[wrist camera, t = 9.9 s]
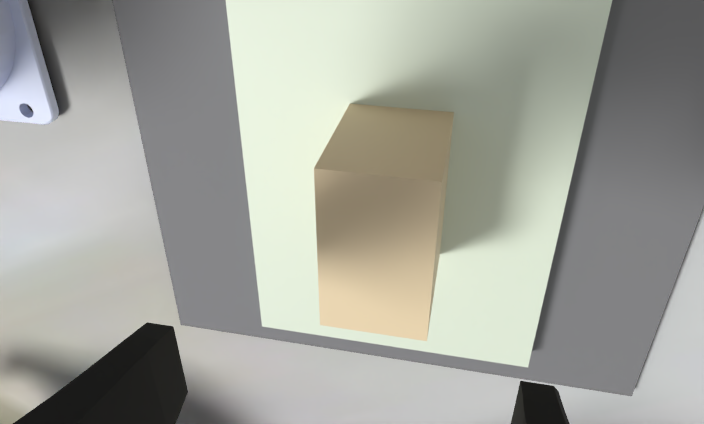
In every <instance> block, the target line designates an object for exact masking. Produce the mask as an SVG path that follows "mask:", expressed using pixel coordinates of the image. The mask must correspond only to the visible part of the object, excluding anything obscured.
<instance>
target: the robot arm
mask: <svg viewBox="0 0 704 424" xmlns="http://www.w3.org/2000/svg"><path fill="white" fill-rule="evenodd" d="M27 104H28V105H29V106H30V107H31V108H32V110H33V112H32V111H31V110H30V109H29V108H28V106H27ZM58 115H59V109H58V106H57V102H56V99H55V95H54V92H53V88H52V85H51V81H50V78H49V74H48V71H47V67H46V64H45V60H44V57H43V53H42V50H41V46H40V43H39V39H38V36H37V32H36V29H35V25H34V22H33V18H32V15H31V11H30V8H29V4H28V1H27V0H0V120H3V121H13V122H23V123H33V124H43V125H45V124H50V123H51V122H53V121H54V120H56V119H57V118H58ZM187 393H188V391H187V386H186V382H185V377H184V373H183V368H182V364H181V359H180V355H179V350H178V346H177V341H176V337H175V332H174V328H173V327H172V326H166V325H159V324H153V323H146V324H145V325H143V326H142V327H141V328H139V329H138V330H137V331H135V332H134V333H133V334H132V335H130V336H129V337H128V338H127V339H125V340H124V341H123V342H121V343H120V344H119V345H118V346H116V347H115V348H114V349H113V350H111V351H110V352H109V353H107V354H106V355H105V356H104V357H102V358H101V359H100V360H99V361H97V362H96V363H95V364H93V365H92V366H91V367H90V368H88V369H87V370H86V371H84V372H83V373H82V374H81V375H79V376H78V377H77V378H75V379H74V380H73V381H71V382H70V383H69V384H67V385H66V386H65V387H63V388H62V389H61V390H60V391H58V392H57V393H56V394H54V395H53V396H52V397H50V398H49V399H47V400H46V401H44V402H43V403H42V404H40V405H39V406H37V407H36V408H35V409H33V410H32V411H30V412H29V413H27V414H26V415H25V416H23V417H22V418H20V419H19V420H18V421H16V422H15V423H13V424H175V423H176V420H177V418H178V416H179V413H180V410H181V408H182V405H183V403H184V400H185V398H186V395H187ZM511 424H569V421H568V419H567V416H566V413H565V410H564V408H563V405H562V402H561V399H560V395H559V392H558V390H557V389H556V388H555V387H554V386H550V385H544V384H537V383H531V382H524V381H520V386H519V390H518V395H517V399H516V404H515V408H514V412H513V417H512V421H511Z"/></svg>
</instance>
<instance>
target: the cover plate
mask: <svg viewBox="0 0 704 424" xmlns="http://www.w3.org/2000/svg"><path fill="white" fill-rule="evenodd" d="M611 4H612V0H226V9H227V18H228V27H229V36H230V44H231V53H232V62H233V71H234V80H235V89H236V98H237V107H238V116H239V125H240V134H241V143H242V152H243V161H244V170H245V179H246V187H247V196H248V205H249V214H250V223H251V232H252V241H253V250H254V259H255V268H256V277H257V286H258V295H259V304H260V313H261V322H262V327H269V328H275V329H282V330H288V331H295V332H301V333H308V334H314V335H321V336H327V337H333V338H340V339H346V340H353V341H359V342H366V343H372V344H379V345H385V346H392V347H398V348H405V349H411V350H418V351H424V352H431V353H437V354H443V355H450V356H456V357H463V358H469V359H476V360H482V361H489V362H495V363H502V364H508V365H515V366H521V367H528V365H529V361H530V356H531V352H532V348H533V343H534V339H535V335H536V330H537V326H538V322H539V317H540V313H541V309H542V304H543V300H544V296H545V291H546V287H547V282H548V278H549V274H550V269H551V265H552V261H553V256H554V252H555V248H556V243H557V239H558V235H559V230H560V226H561V222H562V217H563V213H564V208H565V204H566V200H567V195H568V191H569V187H570V182H571V178H572V174H573V169H574V165H575V161H576V156H577V152H578V148H579V143H580V139H581V134H582V130H583V126H584V121H585V117H586V113H587V108H588V104H589V100H590V95H591V91H592V87H593V82H594V78H595V74H596V69H597V65H598V60H599V56H600V52H601V47H602V43H603V39H604V34H605V30H606V26H607V21H608V17H609V13H610V8H611Z"/></svg>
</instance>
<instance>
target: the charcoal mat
mask: <svg viewBox="0 0 704 424" xmlns="http://www.w3.org/2000/svg"><path fill="white" fill-rule="evenodd" d="M112 1H113V6H114V11H115V16H116V20H117V25H118V30H119V35H120V39H121V44H122V49H123V53H124V58H125V63H126V68H127V72H128V77H129V82H130V87H131V91H132V96H133V101H134V105H135V110H136V115H137V120H138V124H139V129H140V134H141V139H142V143H143V148H144V153H145V157H146V162H147V167H148V172H149V176H150V181H151V186H152V191H153V195H154V200H155V205H156V209H157V214H158V219H159V224H160V228H161V233H162V238H163V243H164V247H165V252H166V257H167V261H168V266H169V271H170V276H171V280H172V285H173V290H174V295H175V299H176V304H177V309H178V313H179V318H180V323H181V325H185V326H191V327H198V328H204V329H210V330H217V331H223V332H229V333H236V334H242V335H248V336H255V337H261V338H267V339H274V340H280V341H286V342H292V343H299V344H305V345H311V346H318V347H324V348H330V349H337V350H343V351H349V352H356V353H362V354H368V355H375V356H381V357H387V358H393V359H400V360H406V361H412V362H419V363H425V364H431V365H438V366H444V367H450V368H457V369H463V370H469V371H476V372H482V373H488V374H495V375H501V376H507V377H513V378H520V379H526V380H532V381H539V382H545V383H551V384H558V385H564V386H570V387H577V388H583V389H589V390H596V391H602V392H608V393H614V394H621V395H627V396H632V394H633V391H634V389H635V386H636V383H637V381H638V378H639V375H640V373H641V370H642V367H643V365H644V362H645V360H646V357H647V354H648V352H649V349H650V346H651V344H652V341H653V339H654V336H655V333H656V331H657V328H658V325H659V323H660V320H661V318H662V315H663V312H664V310H665V307H666V304H667V302H668V299H669V296H670V294H671V291H672V289H673V286H674V283H675V281H676V278H677V275H678V273H679V270H680V268H681V265H682V262H683V260H684V257H685V254H686V252H687V249H688V246H689V244H690V241H691V239H692V236H693V233H694V231H695V228H696V225H697V223H698V220H699V218H700V215H701V212H702V210H703V207H704V0H612V4H611V8H610V13H609V17H608V21H607V26H606V30H605V34H604V39H603V43H602V47H601V52H600V56H599V60H598V65H597V69H596V74H595V78H594V82H593V87H592V91H591V95H590V100H589V104H588V108H587V113H586V117H585V121H584V126H583V130H582V134H581V139H580V143H579V148H578V152H577V156H576V161H575V165H574V169H573V174H572V178H571V182H570V187H569V191H568V195H567V200H566V204H565V208H564V213H563V217H562V222H561V226H560V230H559V235H558V239H557V243H556V248H555V252H554V256H553V261H552V265H551V269H550V274H549V278H548V282H547V287H546V291H545V296H544V300H543V304H542V309H541V313H540V317H539V322H538V326H537V330H536V335H535V339H534V343H533V348H532V352H531V356H530V361H529V365H528V367H521V366H515V365H508V364H502V363H495V362H489V361H482V360H476V359H469V358H463V357H456V356H450V355H443V354H437V353H431V352H424V351H418V350H411V349H405V348H398V347H392V346H385V345H379V344H372V343H366V342H359V341H353V340H346V339H340V338H333V337H327V336H321V335H314V334H308V333H301V332H295V331H288V330H282V329H275V328H269V327H262V322H261V313H260V304H259V295H258V286H257V277H256V268H255V259H254V250H253V241H252V232H251V223H250V214H249V205H248V196H247V187H246V179H245V170H244V161H243V152H242V143H241V134H240V125H239V116H238V107H237V98H236V89H235V80H234V71H233V62H232V53H231V44H230V36H229V27H228V18H227V9H226V0H112Z"/></svg>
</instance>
